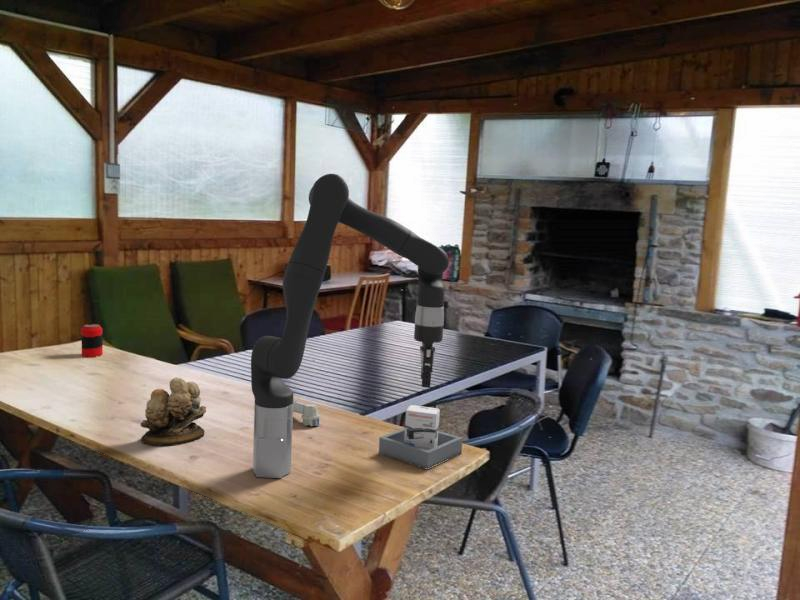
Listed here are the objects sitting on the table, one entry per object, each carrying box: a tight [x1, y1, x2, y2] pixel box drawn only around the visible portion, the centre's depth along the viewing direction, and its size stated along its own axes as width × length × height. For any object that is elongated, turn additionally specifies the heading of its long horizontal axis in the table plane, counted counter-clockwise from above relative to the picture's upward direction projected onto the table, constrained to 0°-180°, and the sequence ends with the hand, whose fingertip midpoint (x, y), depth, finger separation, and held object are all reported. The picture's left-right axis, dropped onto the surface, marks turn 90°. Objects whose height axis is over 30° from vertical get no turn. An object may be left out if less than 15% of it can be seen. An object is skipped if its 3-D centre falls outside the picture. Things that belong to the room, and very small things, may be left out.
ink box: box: [404, 404, 441, 451], centre depth 188 cm, size 8×5×12 cm, turn 77°
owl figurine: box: [140, 377, 207, 447], centre depth 190 cm, size 18×12×17 cm, turn 133°
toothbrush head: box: [293, 399, 322, 427], centre depth 215 cm, size 5×7×25 cm
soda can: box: [81, 323, 104, 358], centre depth 276 cm, size 8×8×12 cm
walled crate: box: [378, 427, 463, 470], centre depth 189 cm, size 16×16×4 cm
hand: (425, 382), depth 186 cm, fingers open, 8 cm apart
